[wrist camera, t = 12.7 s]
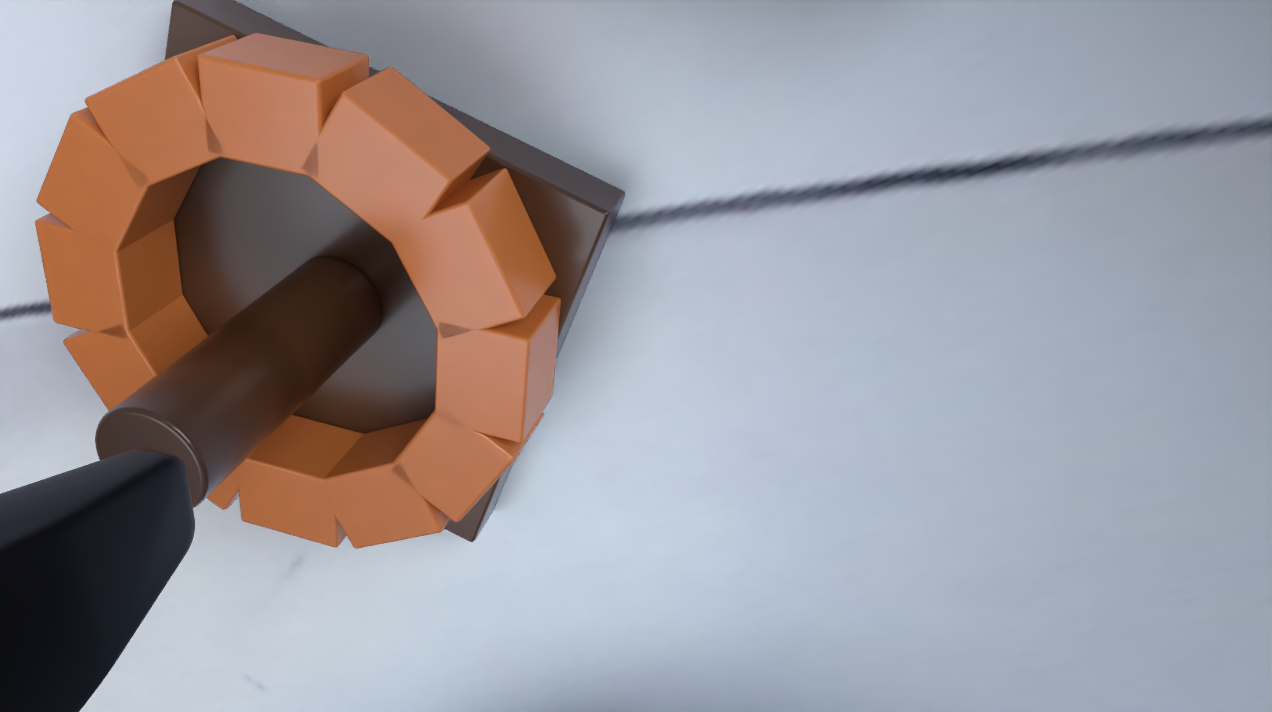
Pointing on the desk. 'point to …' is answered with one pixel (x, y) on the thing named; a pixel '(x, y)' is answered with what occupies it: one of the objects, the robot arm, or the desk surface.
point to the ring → (376, 192)
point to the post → (319, 296)
